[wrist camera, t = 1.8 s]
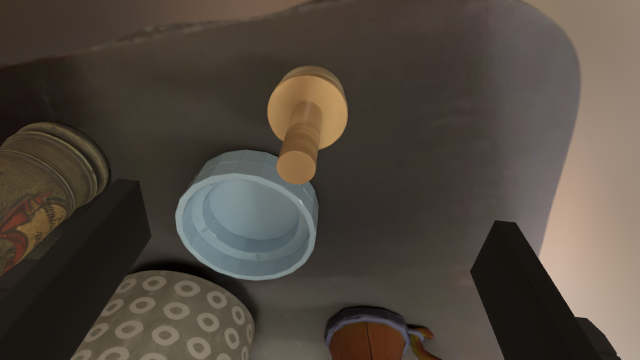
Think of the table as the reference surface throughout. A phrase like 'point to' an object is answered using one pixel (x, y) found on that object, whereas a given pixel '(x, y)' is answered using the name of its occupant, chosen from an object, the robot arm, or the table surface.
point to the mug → (374, 336)
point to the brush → (306, 119)
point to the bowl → (247, 217)
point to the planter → (169, 321)
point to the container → (44, 184)
